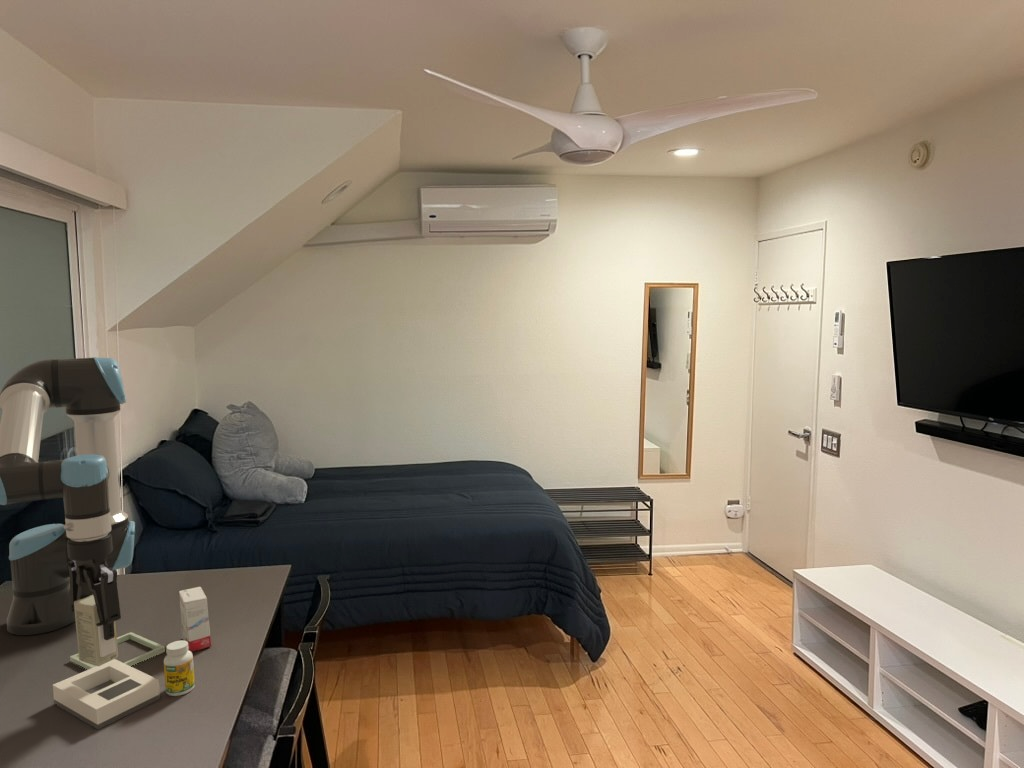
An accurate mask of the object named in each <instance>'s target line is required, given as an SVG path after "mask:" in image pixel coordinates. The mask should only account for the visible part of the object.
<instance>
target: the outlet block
mask: <svg viewBox="0 0 1024 768" xmlns="http://www.w3.org/2000/svg"><path fill="white" fill-rule="evenodd" d="M159 680H160V679H158V678H155V677H153V676H151V675H149V674H148V673H146V672H143V671H141V670H139V669H137V668H135V667H134V666H132V667H131V666H129V665H127V664H124V662H122V661H120V660H118V659H117V658H115V659H113V660H111V661H109V662H107V663H105V664H103V665H101V666H96V667H93V668H91V669H89V670H86V669H85V670H84V671H82V672H79V673H77V674H75V675H72V676H70V677H68V678H66V679H63V680H61V681H58V682H56V683H53V684H52V692H53V693H52V694H53V705H55V704H57V705H58V706H60V707H61V708H60V707H59V708H60V709H62V708H63V709H62V710H64V709H65V710H66V712H67V711H68V712H67V713H68V714H70V713H71V715H72V716H74V717H76V718H77V719H79V720H81V721H82V722H84V723H86V724H88V725H89V726H91V727H93V728H94V729H96V730H97V731H98V730H101V729H103V728H105V727H106V726H109V725H111V724H113V723H115V722H116V721H117V722H118V721H119V720H121V719H123V718H124V717H126V716H128V715H130V714H133V713H135V712H137V711H138V710H140V709H142V708H145V707H146V706H148V705H151V704H153V703H154V702H156V701H159V700H160V699H161V696H160V695H161V694H160V682H159ZM57 705H56V706H57ZM58 706H57V707H58ZM65 710H64V711H65Z"/></svg>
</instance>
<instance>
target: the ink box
mask: <svg viewBox="0 0 1024 768" xmlns="http://www.w3.org/2000/svg"><path fill="white" fill-rule="evenodd" d="M178 594H179V606H180V607H179V608H180V619H181V621H180V622H181V633H182V640H183V641H187V642H188V647H189V648H188V650H189V651H190V652H191V653H193V652H196V650H197V651H201V650H203V649H206V648H209V647H212V641H211V630H210V629H211V628H210V620H209V618H210V617H209V611H208V609H209V608H208V597H207V596H206V594H205V592H204V590H203V588H202V587H201V586H196V587H192V588H191V587H190V588H188V589H182V590H179V591H178ZM192 651H193V652H192Z"/></svg>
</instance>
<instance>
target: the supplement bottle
mask: <svg viewBox="0 0 1024 768" xmlns="http://www.w3.org/2000/svg"><path fill="white" fill-rule="evenodd" d="M188 648H189V647H188V642H187V641H184V640H183V639H181V640H175V641H172V642H170V643H168V644H167V645H166V646H165V652H166V655H165V656H164V659H163V670H164V673H163V674H164V684H165V685H164V686H165V693H166V694H167V695H168V696H172V697H180V696H183V695H186V694H188V693H190V692H192V691H193V689H195V685H196V683H195V682H196V681H195V669H194V668H195V667H194V657H193V656H194V655H193V652H190V651H189V650H188Z"/></svg>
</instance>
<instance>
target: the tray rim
mask: <svg viewBox="0 0 1024 768" xmlns="http://www.w3.org/2000/svg"><path fill="white" fill-rule="evenodd" d="M116 637H117V636H116ZM128 640H131V641H134V642H136V643H138V644H139V645H142V646H144V647H146V648H150V649H151V650H149V651H147V652H144V653H143V654H140V655H139V656H136V657H134V658H131V659H130V660H127V661H125V662H123V663H124V664H127V665H129V666H132V665H134V666H136V665H138V664H137V663H139V662H141V661H143V662H145V661H148V660H150V659H152V658H154V657H156V655H157V656H159V655H161V654H163V653H165V652H166V646H164V645H162V644H161V643H157V642H155V641H153V640H150V639H148V638H145V637H143V636H141V635H139V634H136V633H134V632H132V631H130V632H128V633H125V634H123V635H119V636H118V637H117V645H118V644H122V643H123V642H126V641H128ZM153 656H154V657H153ZM151 657H152V658H151ZM149 658H150V659H149ZM147 659H148V660H147ZM144 660H145V661H144ZM69 661H72V662H75V663H76V664H78V665H80V666H82V667H84V668H85V669H84V668H83V669H84V670H86V669H87V670H89V669H91V668H93V667H96V666H95V665H92V664H89V663H85V662H82V661H79V654H78V652H76V653H75V654H72V655H70V656H69ZM72 662H71V663H72ZM141 663H142V662H141ZM76 664H75V665H76ZM135 664H136V665H135ZM139 664H140V663H139ZM78 665H77V666H78ZM80 666H79V667H80ZM82 667H81V668H82ZM132 667H133V666H132Z"/></svg>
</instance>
